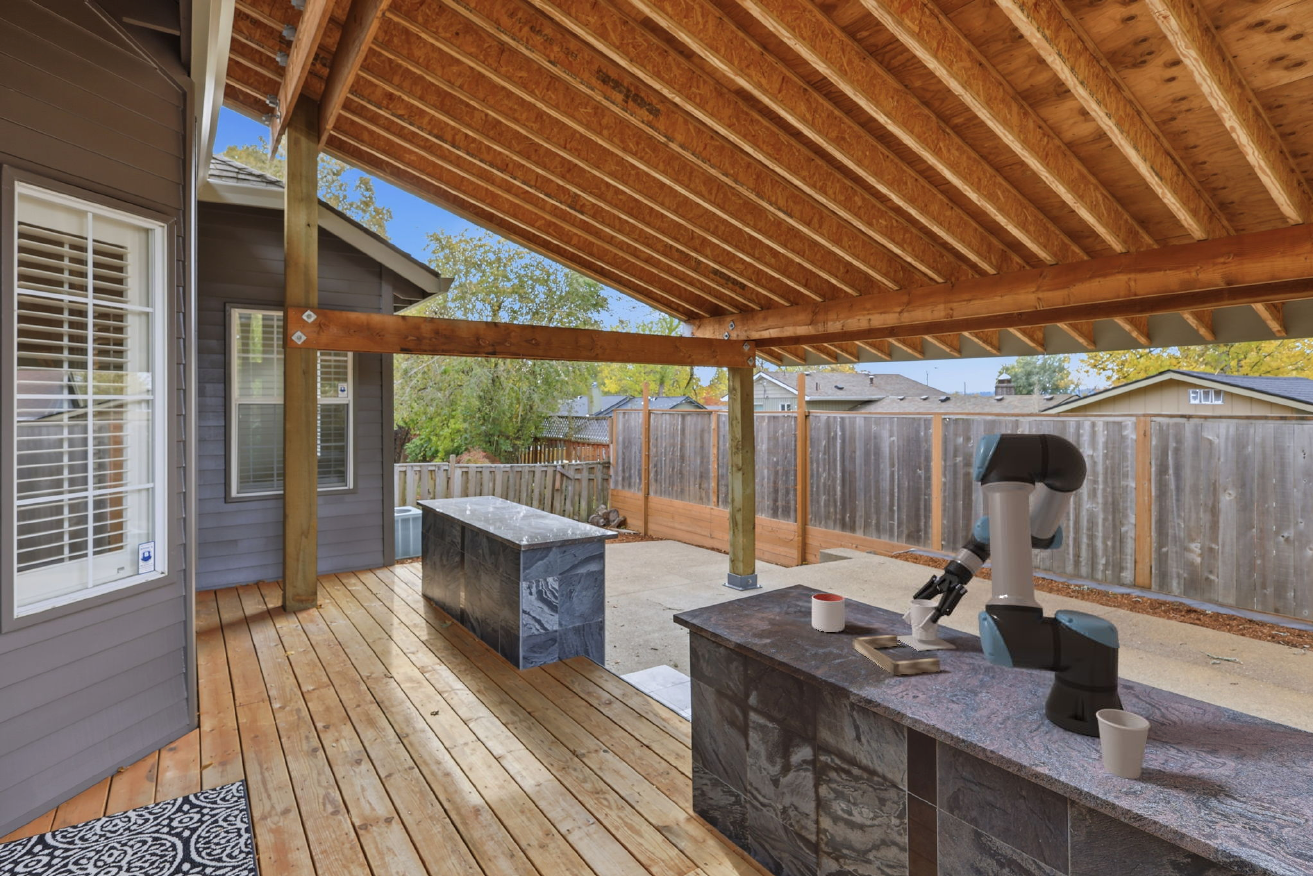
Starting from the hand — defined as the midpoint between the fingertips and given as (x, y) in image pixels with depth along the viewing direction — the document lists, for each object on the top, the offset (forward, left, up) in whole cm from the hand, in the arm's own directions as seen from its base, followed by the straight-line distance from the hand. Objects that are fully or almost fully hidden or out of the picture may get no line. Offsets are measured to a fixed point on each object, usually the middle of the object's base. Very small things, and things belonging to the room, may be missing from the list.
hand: (914, 625), depth 198 cm
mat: (+1, -3, -5) cm, 6 cm away
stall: (-12, +11, -5) cm, 17 cm away
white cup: (+1, -3, -4) cm, 5 cm away
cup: (+16, +21, -6) cm, 27 cm away
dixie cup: (-71, -8, -6) cm, 72 cm away
